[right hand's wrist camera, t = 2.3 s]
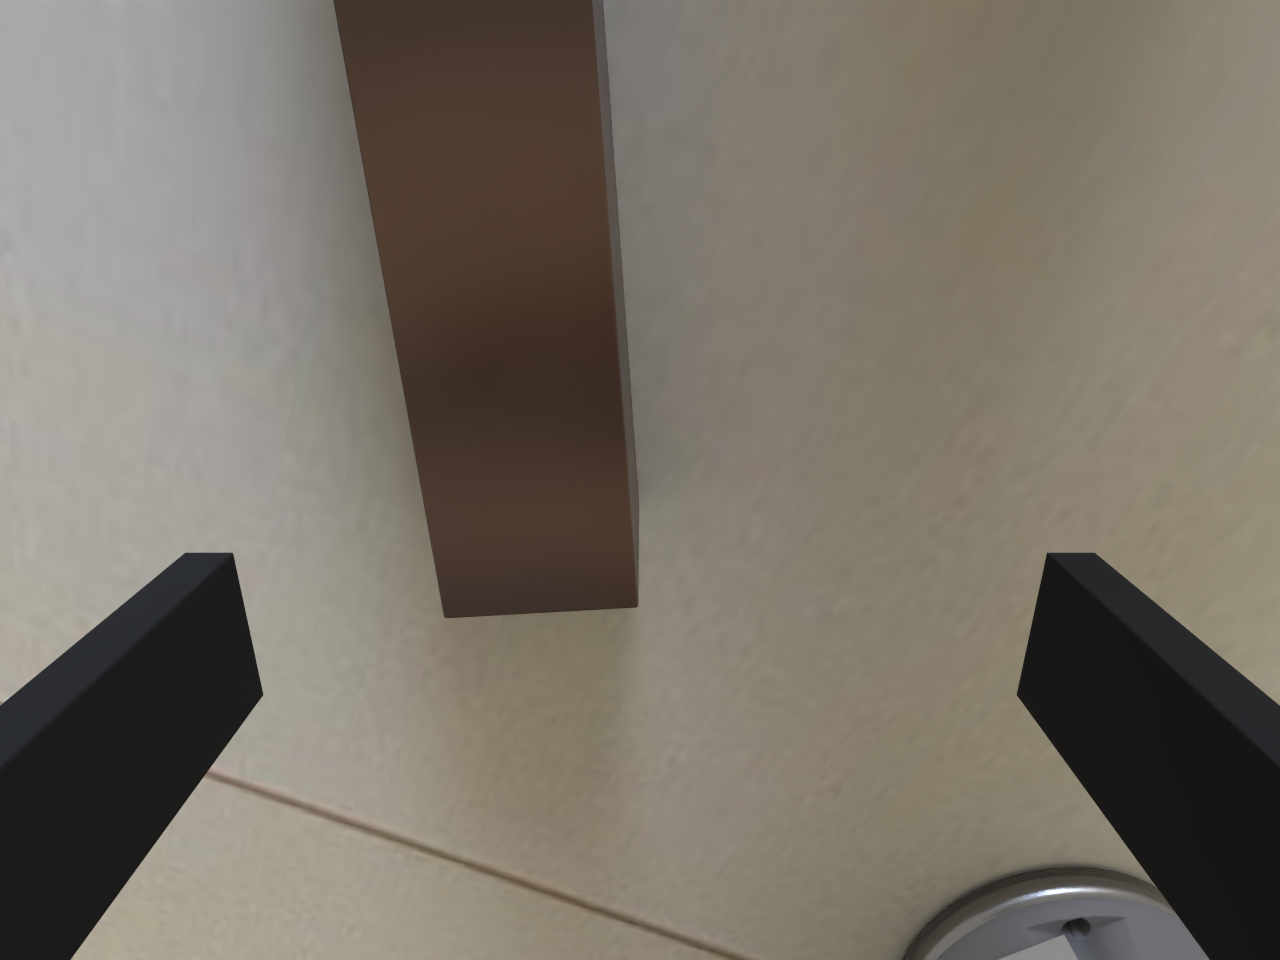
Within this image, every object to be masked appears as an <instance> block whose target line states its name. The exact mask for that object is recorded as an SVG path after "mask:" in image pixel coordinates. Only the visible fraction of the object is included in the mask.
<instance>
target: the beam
mask: <svg viewBox="0 0 1280 960" xmlns="http://www.w3.org/2000/svg"><path fill="white" fill-rule="evenodd" d="M333 1H334V6H335V12H336V17H337V23H338V29H339V34H340V40H341V45H342V51H343V56H344V62H345V67H346V73H347V79H348V84H349V90H350V95H351V101H352V106H353V112H354V118H355V123H356V129H357V134H358V140H359V145H360V151H361V157H362V162H363V168H364V173H365V179H366V184H367V190H368V196H369V201H370V207H371V212H372V218H373V223H374V229H375V234H376V240H377V246H378V251H379V257H380V262H381V268H382V273H383V279H384V285H385V290H386V296H387V301H388V307H389V312H390V318H391V324H392V329H393V335H394V340H395V346H396V351H397V357H398V362H399V368H400V374H401V379H402V385H403V390H404V396H405V401H406V407H407V413H408V418H409V424H410V429H411V435H412V440H413V446H414V452H415V457H416V463H417V468H418V474H419V479H420V485H421V491H422V496H423V502H424V507H425V513H426V518H427V524H428V529H429V535H430V541H431V546H432V552H433V557H434V563H435V568H436V574H437V580H438V585H439V591H440V596H441V602H442V607H443V613H444V617H445V618H458V617H476V616H493V615H511V614H529V613H546V612H564V611H582V610H599V609H617V608H635V607H637V606H638V575H639V498H638V484H637V470H636V456H635V442H634V428H633V414H632V400H631V386H630V372H629V358H628V344H627V330H626V317H625V303H624V289H623V275H622V261H621V247H620V233H619V219H618V205H617V191H616V177H615V163H614V149H613V135H612V121H611V107H610V93H609V79H608V65H607V51H606V37H605V23H604V10H603V0H333Z"/></svg>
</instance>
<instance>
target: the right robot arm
mask: <svg viewBox="0 0 1280 960" xmlns="http://www.w3.org/2000/svg"><path fill="white" fill-rule="evenodd" d="M262 696H263V691H262V687H261V682H260V677H259V673H258V668H257V663H256V659H255V654H254V649H253V645H252V640H251V635H250V631H249V626H248V621H247V617H246V612H245V607H244V603H243V598H242V593H241V589H240V584H239V579H238V575H237V570H236V565H235V560H234V556H233V553H185V554H183V555H182V556H181V557H180V558H179V559H177V560H176V561H175V562H174V563H172V564H171V565H170V566H169V567H168V568H166V569H165V570H164V571H163V572H162V573H160V574H159V575H158V576H157V577H156V578H154V579H153V580H152V581H151V582H149V583H148V584H147V585H146V586H145V587H143V588H142V589H141V590H140V591H139V592H137V593H136V594H135V595H134V596H133V597H131V598H130V599H129V600H128V601H126V602H125V603H124V604H123V605H122V606H120V607H119V608H118V609H117V610H116V611H114V612H113V613H112V614H111V615H110V616H108V617H107V618H106V619H105V620H103V621H102V622H101V623H100V624H99V625H97V626H96V627H95V628H94V629H93V630H91V631H90V632H89V633H88V634H87V635H85V636H84V637H83V638H82V639H80V640H79V641H78V642H77V643H76V644H74V645H73V646H72V647H71V648H70V649H68V650H67V651H66V652H65V653H64V654H62V655H61V656H60V657H59V658H57V659H56V660H55V661H54V662H53V663H51V664H50V665H49V666H48V667H47V668H45V669H44V670H43V671H42V672H41V673H39V674H38V675H37V676H36V677H34V678H33V679H32V680H31V681H30V682H28V683H27V684H26V685H25V686H24V687H22V688H21V689H20V690H19V691H18V692H16V693H15V694H14V695H13V696H11V697H10V698H9V699H8V700H7V701H5V702H4V703H3V704H2V705H1V706H0V960H71V958H72V957H73V955H74V954H75V953H76V951H77V950H78V949H79V947H80V946H81V944H82V943H83V942H84V940H85V939H86V938H87V936H88V935H89V933H90V932H91V931H92V929H93V928H94V927H95V925H96V924H97V922H98V921H99V920H100V918H101V917H102V916H103V914H104V913H105V911H106V910H107V909H108V907H109V906H110V905H111V903H112V902H113V900H114V899H115V898H116V896H117V895H118V894H119V892H120V891H121V890H122V888H123V887H124V885H125V884H126V883H127V881H128V880H129V879H130V877H131V876H132V874H133V873H134V872H135V870H136V869H137V868H138V866H139V865H140V863H141V862H142V861H143V859H144V858H145V857H146V855H147V854H148V852H149V851H150V850H151V848H152V847H153V846H154V844H155V843H156V841H157V840H158V839H159V837H160V836H161V835H162V833H163V832H164V830H165V829H166V828H167V826H168V825H169V824H170V822H171V821H172V819H173V818H174V817H175V815H176V814H177V813H178V811H179V810H180V808H181V807H182V806H183V804H184V803H185V802H186V800H187V799H188V797H189V796H190V795H191V793H192V792H193V791H194V789H195V788H196V786H197V785H198V784H199V782H200V781H201V780H202V778H203V777H204V776H205V774H206V773H207V771H208V770H209V769H210V767H211V766H212V765H213V763H214V762H215V760H216V759H217V758H218V756H219V755H220V754H221V752H222V751H223V749H224V748H225V747H226V745H227V744H228V743H229V741H230V740H231V738H232V737H233V736H234V734H235V733H236V732H237V730H238V729H239V727H240V726H241V725H242V723H243V722H244V721H245V719H246V718H247V716H248V715H249V714H250V712H251V711H252V710H253V708H254V707H255V705H256V704H257V703H258V701H259V700H260V699H261V697H262ZM1017 696H1018V697H1019V699H1020V700H1021V701H1022V703H1023V704H1024V705H1025V707H1026V708H1027V710H1028V711H1029V712H1030V714H1031V715H1032V716H1033V718H1034V719H1035V721H1036V722H1037V723H1038V725H1039V726H1040V727H1041V729H1042V730H1043V732H1044V733H1045V734H1046V736H1047V737H1048V738H1049V740H1050V741H1051V743H1052V744H1053V745H1054V747H1055V748H1056V749H1057V751H1058V752H1059V754H1060V755H1061V756H1062V758H1063V759H1064V760H1065V762H1066V763H1067V765H1068V766H1069V767H1070V769H1071V770H1072V771H1073V773H1074V774H1075V776H1076V777H1077V778H1078V780H1079V781H1080V782H1081V784H1082V785H1083V786H1084V788H1085V789H1086V791H1087V792H1088V793H1089V795H1090V796H1091V797H1092V799H1093V800H1094V802H1095V803H1096V804H1097V806H1098V807H1099V808H1100V810H1101V811H1102V813H1103V814H1104V815H1105V817H1106V818H1107V819H1108V821H1109V822H1110V824H1111V825H1112V826H1113V828H1114V829H1115V830H1116V832H1117V833H1118V835H1119V836H1120V837H1121V839H1122V840H1123V841H1124V843H1125V844H1126V846H1127V847H1128V848H1129V850H1130V851H1131V852H1132V854H1133V855H1134V857H1135V858H1136V859H1137V861H1138V862H1139V863H1140V865H1141V866H1142V868H1143V869H1144V870H1145V872H1146V873H1147V874H1148V876H1149V877H1150V879H1151V880H1152V881H1153V883H1154V884H1155V885H1156V887H1157V888H1158V889H1157V888H1156V887H1154V886H1152V885H1150V884H1148V883H1146V882H1144V881H1142V880H1140V879H1137V878H1134V877H1131V876H1129V875H1126V874H1122V873H1118V872H1113V871H1108V870H1102V869H1094V868H1054V869H1045V870H1039V871H1033V872H1028V873H1024V874H1019V875H1016V876H1012V877H1009V878H1005V879H1002V880H1000V881H997V882H994V883H992V884H989V885H987V886H985V887H982V888H980V889H978V890H976V891H974V892H972V893H970V894H968V895H967V896H965V897H963V898H961V899H960V900H958V901H957V902H955V903H954V904H952V905H950V906H949V907H948V908H947V909H945V910H944V911H943V912H941V913H940V914H939V915H938V916H937V917H936V918H934V919H933V920H932V921H931V922H930V923H929V924H928V925H927V926H926V927H925V928H924V930H923V931H922V932H921V933H920V934H919V936H918V937H917V938H916V940H915V941H914V942H913V944H912V946H911V947H910V949H909V951H908V952H907V955H906V957H905V959H904V960H1280V706H1279V705H1278V704H1277V703H1276V702H1275V701H1273V700H1272V699H1271V698H1270V697H1269V696H1267V695H1266V694H1265V693H1264V692H1262V691H1261V690H1260V689H1259V688H1258V687H1256V686H1255V685H1254V684H1253V683H1252V682H1250V681H1249V680H1248V679H1247V678H1246V677H1244V676H1243V675H1242V674H1241V673H1239V672H1238V671H1237V670H1236V669H1235V668H1233V667H1232V666H1231V665H1230V664H1229V663H1227V662H1226V661H1225V660H1224V659H1223V658H1221V657H1220V656H1219V655H1218V654H1216V653H1215V652H1214V651H1213V650H1212V649H1210V648H1209V647H1208V646H1207V645H1206V644H1204V643H1203V642H1202V641H1201V640H1200V639H1198V638H1197V637H1196V636H1195V635H1193V634H1192V633H1191V632H1190V631H1189V630H1187V629H1186V628H1185V627H1184V626H1183V625H1181V624H1180V623H1179V622H1178V621H1177V620H1175V619H1174V618H1173V617H1172V616H1170V615H1169V614H1168V613H1167V612H1166V611H1164V610H1163V609H1162V608H1161V607H1160V606H1158V605H1157V604H1156V603H1155V602H1154V601H1152V600H1151V599H1150V598H1149V597H1147V596H1146V595H1145V594H1144V593H1143V592H1141V591H1140V590H1139V589H1138V588H1137V587H1135V586H1134V585H1133V584H1132V583H1131V582H1129V581H1128V580H1127V579H1126V578H1124V577H1123V576H1122V575H1121V574H1120V573H1118V572H1117V571H1116V570H1115V569H1114V568H1112V567H1111V566H1110V565H1109V564H1108V563H1106V562H1105V561H1104V560H1103V559H1101V558H1100V557H1099V556H1098V555H1097V554H1095V553H1047V556H1046V560H1045V565H1044V570H1043V574H1042V579H1041V584H1040V589H1039V593H1038V598H1037V603H1036V607H1035V612H1034V617H1033V621H1032V626H1031V631H1030V635H1029V640H1028V645H1027V649H1026V654H1025V659H1024V663H1023V668H1022V673H1021V677H1020V682H1019V687H1018V691H1017Z"/></svg>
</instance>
